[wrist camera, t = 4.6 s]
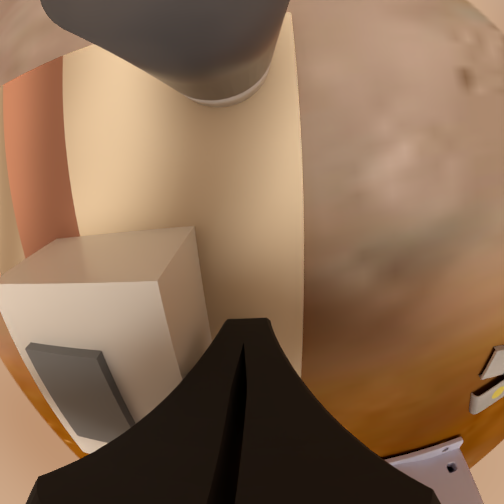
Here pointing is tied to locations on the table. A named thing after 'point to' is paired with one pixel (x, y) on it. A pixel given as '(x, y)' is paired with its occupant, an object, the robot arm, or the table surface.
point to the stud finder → (108, 325)
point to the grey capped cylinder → (183, 40)
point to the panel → (163, 176)
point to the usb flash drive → (498, 365)
